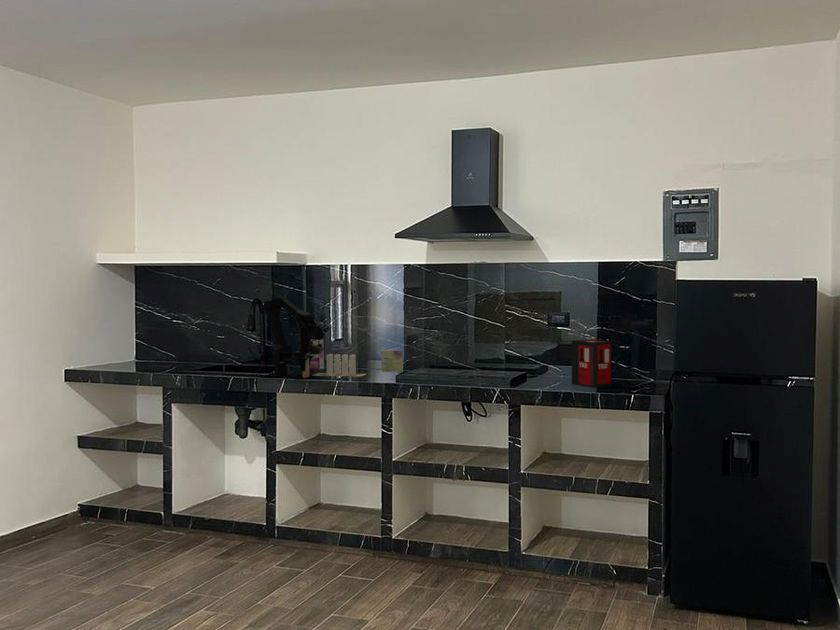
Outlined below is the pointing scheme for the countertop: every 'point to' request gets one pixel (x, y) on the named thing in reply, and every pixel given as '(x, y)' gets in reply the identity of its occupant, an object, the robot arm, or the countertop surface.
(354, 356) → the domino
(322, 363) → the candy bar box
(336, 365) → the domino
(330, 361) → the domino
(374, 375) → the countertop surface
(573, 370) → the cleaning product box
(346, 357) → the domino
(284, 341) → the robot arm
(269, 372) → the countertop surface
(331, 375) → the domino board
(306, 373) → the domino
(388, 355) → the box
